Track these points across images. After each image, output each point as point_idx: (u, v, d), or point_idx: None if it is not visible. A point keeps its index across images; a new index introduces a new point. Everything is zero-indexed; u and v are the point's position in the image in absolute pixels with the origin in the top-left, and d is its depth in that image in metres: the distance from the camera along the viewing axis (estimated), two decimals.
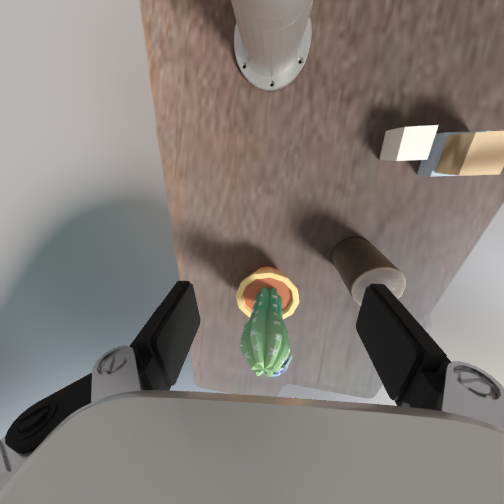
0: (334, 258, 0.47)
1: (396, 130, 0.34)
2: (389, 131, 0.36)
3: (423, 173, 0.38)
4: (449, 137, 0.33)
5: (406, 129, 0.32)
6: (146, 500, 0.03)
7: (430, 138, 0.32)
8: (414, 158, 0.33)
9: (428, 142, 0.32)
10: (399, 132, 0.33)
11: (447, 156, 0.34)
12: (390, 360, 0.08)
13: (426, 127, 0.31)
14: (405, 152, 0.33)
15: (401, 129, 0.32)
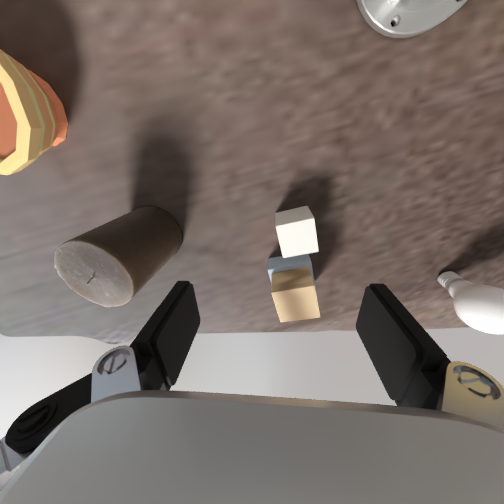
0: (135, 210, 0.31)
1: (309, 212, 0.27)
2: (307, 208, 0.29)
3: (269, 263, 0.34)
4: (306, 267, 0.31)
5: (311, 221, 0.25)
6: (146, 500, 0.03)
7: (304, 250, 0.27)
8: (281, 244, 0.27)
9: (300, 250, 0.27)
10: (307, 215, 0.26)
11: (288, 275, 0.30)
12: (390, 360, 0.08)
13: (315, 241, 0.26)
14: (286, 232, 0.26)
15: (310, 216, 0.26)
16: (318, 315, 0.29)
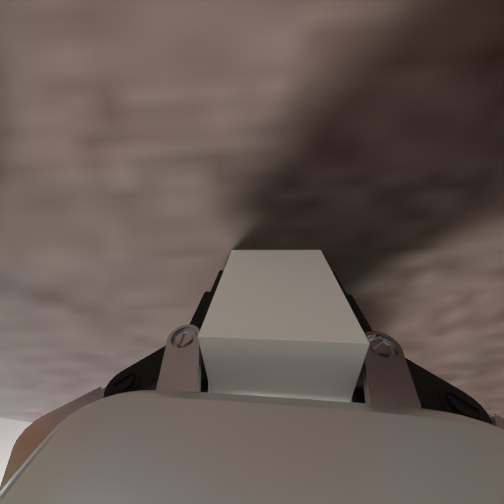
0: None
1: (335, 289, 0.08)
2: (322, 263, 0.10)
3: None
4: None
5: (352, 351, 0.06)
6: (146, 500, 0.03)
7: None
8: (217, 390, 0.07)
9: None
10: (334, 311, 0.07)
11: None
12: None
13: None
14: (240, 363, 0.06)
15: (348, 320, 0.06)
16: None
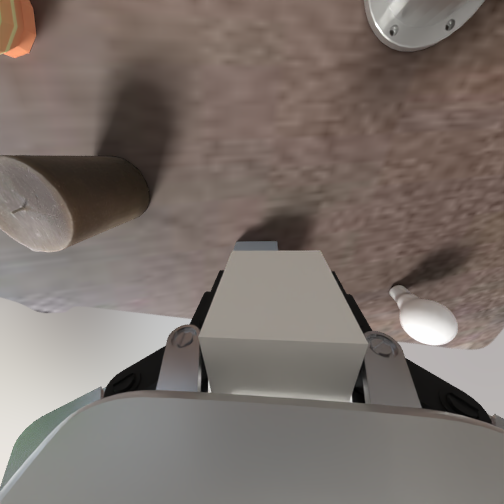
0: None
1: (335, 290, 0.08)
2: (322, 263, 0.10)
3: (237, 245, 0.32)
4: None
5: (351, 351, 0.06)
6: (146, 500, 0.03)
7: None
8: (217, 390, 0.07)
9: None
10: (333, 311, 0.07)
11: None
12: None
13: None
14: (240, 363, 0.06)
15: (347, 320, 0.06)
16: None
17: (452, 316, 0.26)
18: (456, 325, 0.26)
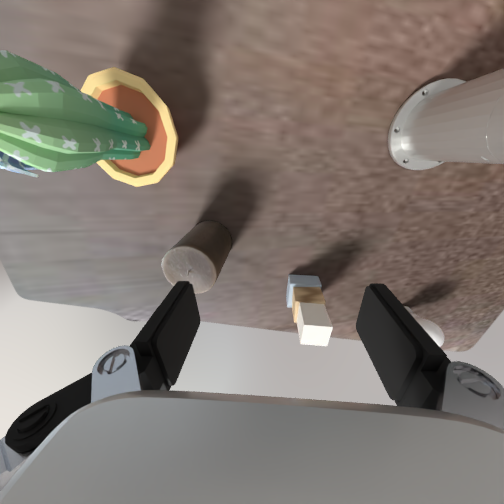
0: (206, 223, 0.41)
1: (327, 316, 0.37)
2: (324, 309, 0.39)
3: (290, 278, 0.46)
4: (318, 288, 0.44)
5: (329, 328, 0.35)
6: (146, 500, 0.03)
7: (317, 343, 0.37)
8: (303, 336, 0.36)
9: (314, 342, 0.37)
10: (327, 321, 0.36)
11: (306, 290, 0.43)
12: (390, 360, 0.08)
13: (327, 339, 0.36)
14: (310, 330, 0.35)
15: (329, 323, 0.35)
16: None
17: (440, 331, 0.40)
18: (443, 337, 0.40)
